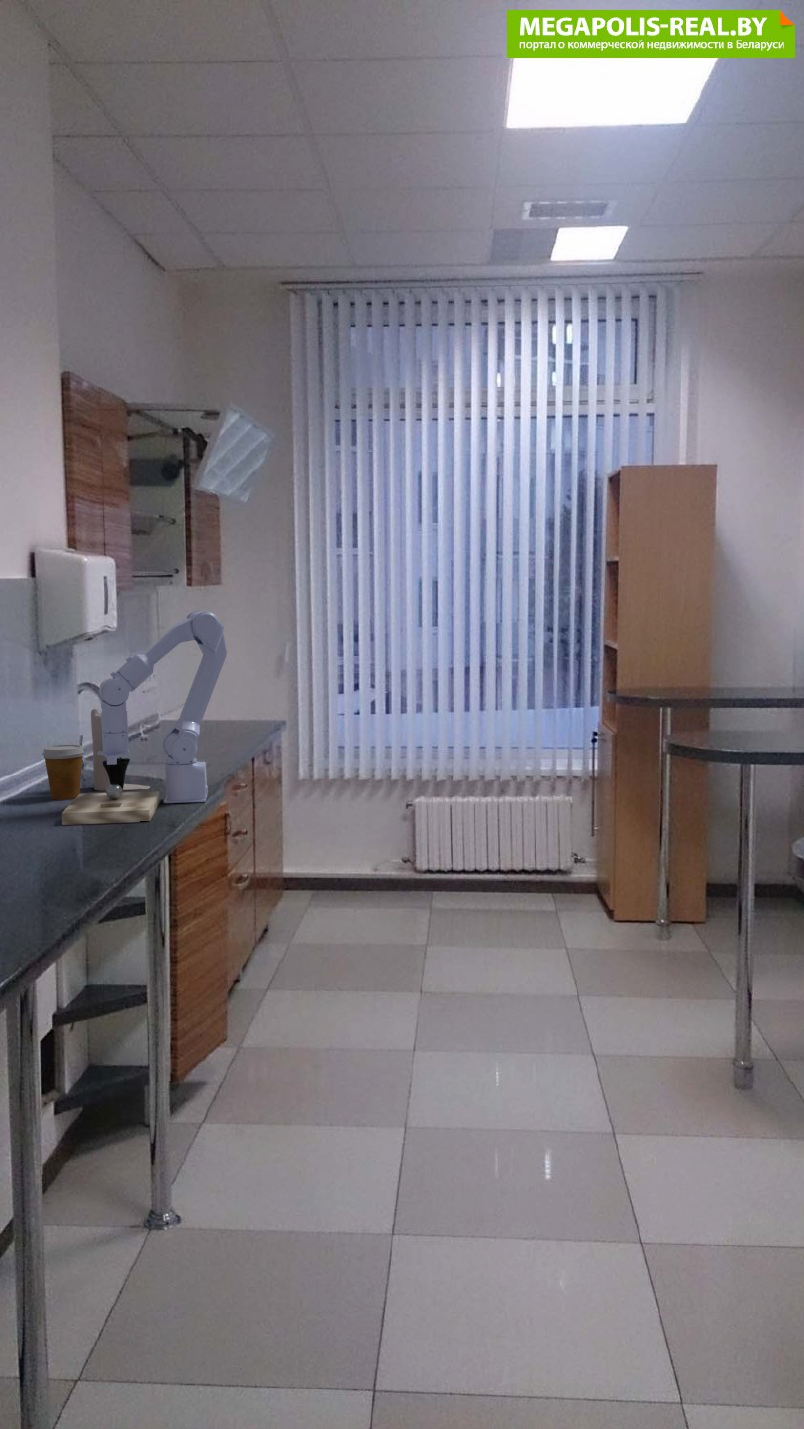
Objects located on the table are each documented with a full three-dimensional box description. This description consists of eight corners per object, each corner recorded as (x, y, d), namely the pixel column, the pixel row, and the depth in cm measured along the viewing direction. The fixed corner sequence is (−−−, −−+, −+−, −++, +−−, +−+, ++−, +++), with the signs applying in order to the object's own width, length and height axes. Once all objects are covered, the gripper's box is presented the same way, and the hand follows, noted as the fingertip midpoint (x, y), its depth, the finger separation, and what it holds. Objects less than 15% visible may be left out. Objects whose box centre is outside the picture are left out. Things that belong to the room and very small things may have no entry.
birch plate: (160, 801, 262) (159, 791, 262) (149, 821, 240) (149, 809, 240) (80, 804, 260) (79, 793, 260) (62, 824, 238) (61, 813, 238)
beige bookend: (147, 790, 277) (143, 708, 274) (90, 791, 277) (86, 709, 275) (154, 785, 284) (151, 705, 282) (99, 785, 284) (95, 706, 282)
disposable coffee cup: (92, 793, 274) (90, 744, 272) (77, 801, 264) (74, 750, 263) (54, 793, 275) (51, 744, 273) (37, 801, 265) (35, 750, 264)
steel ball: (123, 797, 254) (122, 782, 254) (121, 800, 251) (120, 784, 250) (107, 798, 254) (106, 782, 253) (105, 801, 250) (104, 785, 250)
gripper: (101, 728, 263) (104, 786, 264) (91, 736, 248) (94, 797, 250) (132, 727, 264) (135, 785, 265) (124, 735, 249) (127, 796, 251)
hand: (117, 791), depth 258 cm, fingers closed
